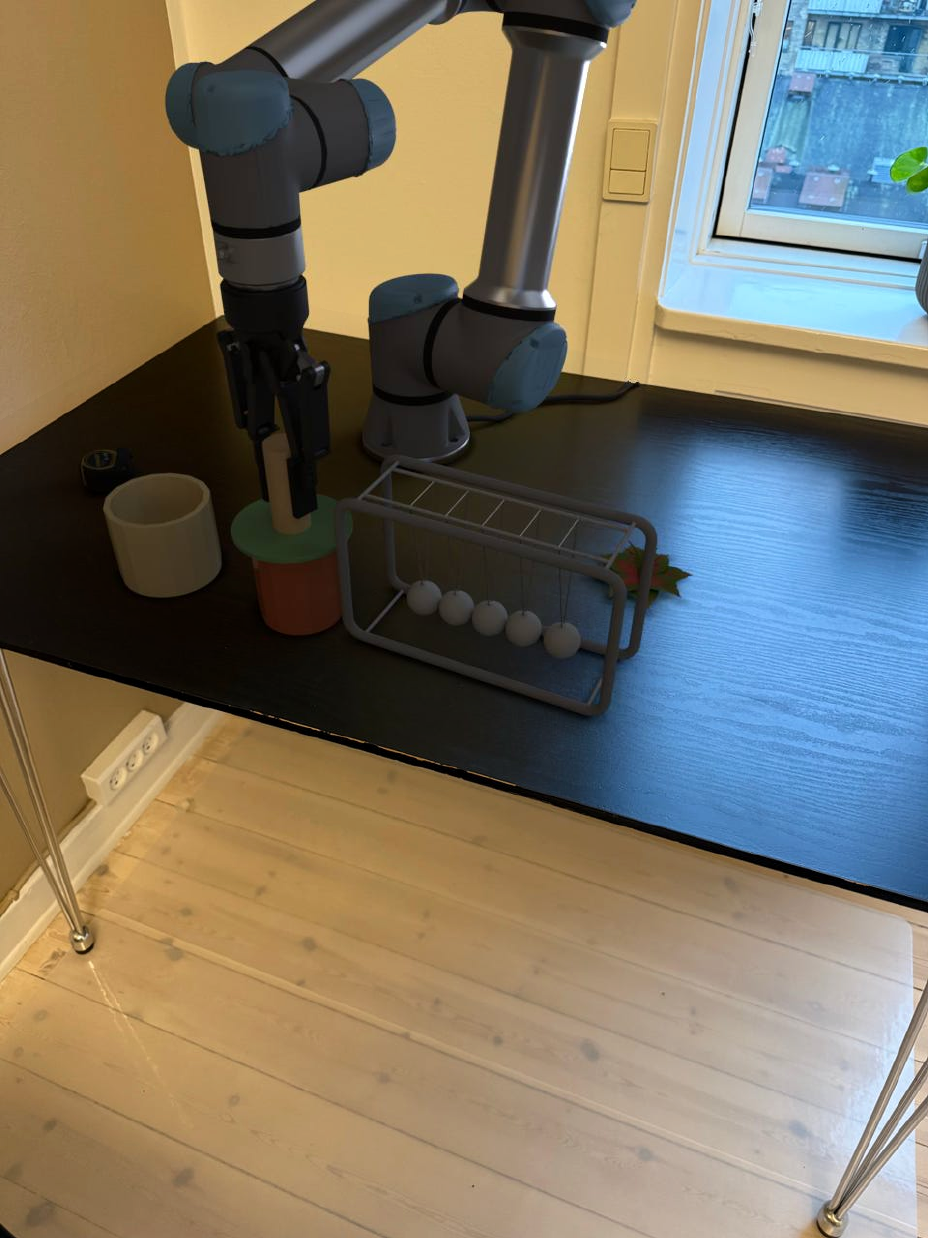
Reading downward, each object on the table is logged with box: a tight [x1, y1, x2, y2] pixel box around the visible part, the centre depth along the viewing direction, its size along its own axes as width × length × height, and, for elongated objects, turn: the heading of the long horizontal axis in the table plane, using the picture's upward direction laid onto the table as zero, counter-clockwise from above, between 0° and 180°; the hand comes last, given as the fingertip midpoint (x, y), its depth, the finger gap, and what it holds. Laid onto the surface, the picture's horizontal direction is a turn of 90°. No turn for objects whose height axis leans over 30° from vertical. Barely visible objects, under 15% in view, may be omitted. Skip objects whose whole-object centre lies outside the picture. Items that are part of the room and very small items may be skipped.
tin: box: [102, 472, 223, 599], centre depth 110 cm, size 11×11×10 cm
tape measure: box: [78, 446, 136, 493], centre depth 126 cm, size 7×7×4 cm
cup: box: [251, 551, 342, 636], centre depth 104 cm, size 9×9×10 cm
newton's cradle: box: [333, 455, 658, 717], centre depth 96 cm, size 30×10×18 cm, turn 64°
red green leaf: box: [599, 539, 694, 610], centre depth 110 cm, size 12×12×5 cm
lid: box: [230, 432, 354, 564], centre depth 97 cm, size 13×13×11 cm
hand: (290, 503), depth 98 cm, fingers closed on lid, 4 cm apart
